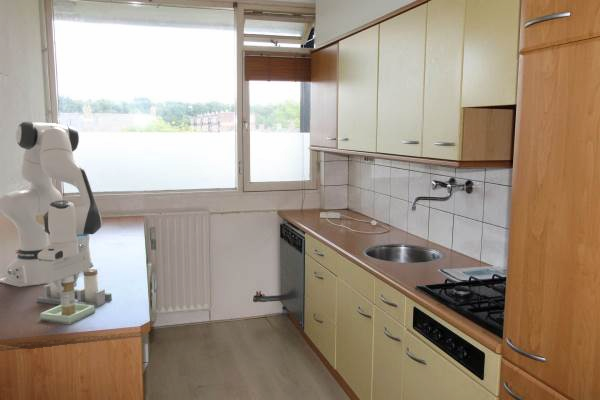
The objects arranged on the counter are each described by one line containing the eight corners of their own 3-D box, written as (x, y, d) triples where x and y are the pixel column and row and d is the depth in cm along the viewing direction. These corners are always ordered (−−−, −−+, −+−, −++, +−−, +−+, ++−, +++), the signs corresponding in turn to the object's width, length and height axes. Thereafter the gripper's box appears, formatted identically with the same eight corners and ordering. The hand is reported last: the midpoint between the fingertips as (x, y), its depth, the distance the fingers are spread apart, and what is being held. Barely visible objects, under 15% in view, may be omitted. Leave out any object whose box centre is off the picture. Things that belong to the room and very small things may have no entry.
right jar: (82, 304, 194) (80, 272, 192) (91, 300, 198) (89, 268, 196) (92, 305, 192) (91, 273, 190) (101, 301, 196) (100, 269, 195)
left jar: (47, 299, 199) (45, 268, 197) (57, 296, 203) (55, 265, 202) (57, 301, 197) (55, 269, 196) (67, 297, 202) (65, 266, 200)
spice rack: (37, 301, 197) (36, 288, 196) (58, 293, 207) (57, 280, 206) (92, 308, 189) (91, 295, 188) (111, 299, 198) (111, 287, 198)
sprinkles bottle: (71, 311, 184) (69, 273, 182) (78, 314, 181) (76, 275, 179) (58, 314, 180) (56, 276, 179) (65, 317, 178) (63, 278, 176)
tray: (41, 320, 178) (40, 313, 177) (67, 308, 189) (67, 302, 188) (69, 324, 174) (69, 317, 173) (94, 312, 185) (94, 305, 185)
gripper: (79, 242, 189) (81, 280, 191) (33, 255, 170) (36, 297, 171) (93, 243, 187) (95, 281, 188) (48, 256, 168) (51, 298, 169)
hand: (67, 289), depth 180 cm, fingers open, 4 cm apart
